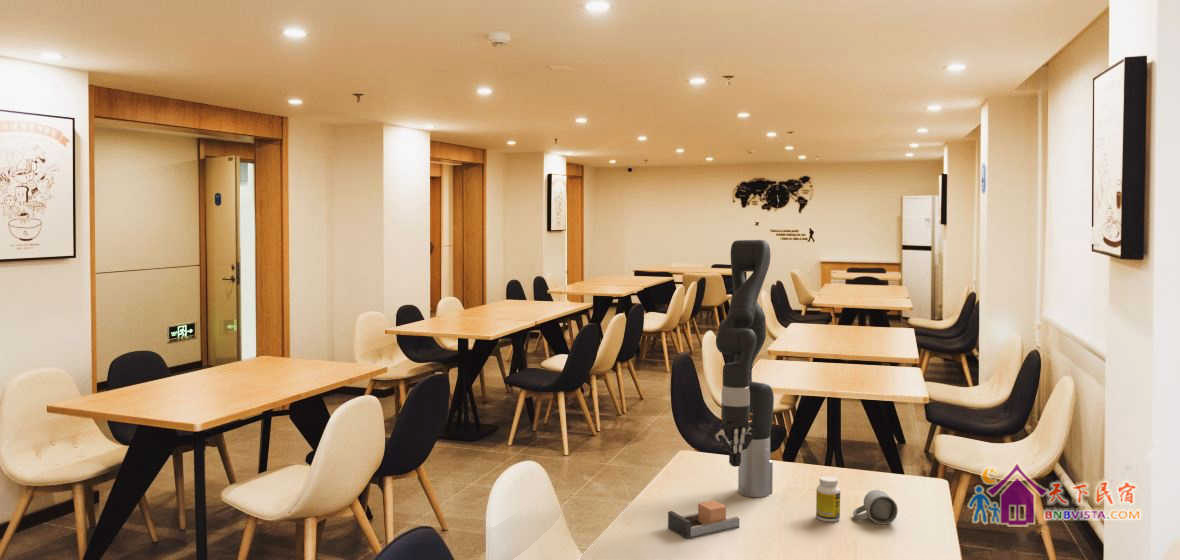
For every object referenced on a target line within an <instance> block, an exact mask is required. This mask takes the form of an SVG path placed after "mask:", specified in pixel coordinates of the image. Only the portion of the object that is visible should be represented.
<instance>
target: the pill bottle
mask: <svg viewBox="0 0 1180 560" xmlns="http://www.w3.org/2000/svg"><path fill="white" fill-rule="evenodd" d="M815 495H816V505H815V507H816V508H815V510H816V512H815V516H816V519H818V520H819V521H823V522H827V523H833V522H834V523H835V522H838V521H840V518H841V489H840V488H839V486H838V478H837V477H835V476H830V475H823V476H820V477H819V484H818V486H817V487H816V494H815Z"/></svg>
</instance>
